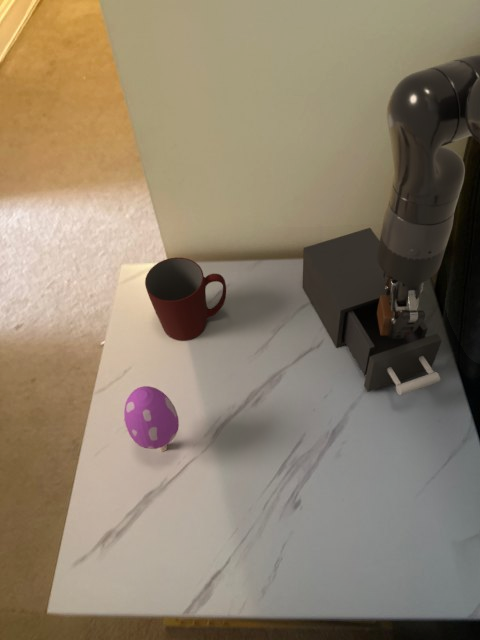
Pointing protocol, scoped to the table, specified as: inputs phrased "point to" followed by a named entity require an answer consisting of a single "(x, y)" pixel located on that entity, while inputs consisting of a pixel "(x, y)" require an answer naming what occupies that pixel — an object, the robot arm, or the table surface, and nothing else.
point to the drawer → (389, 352)
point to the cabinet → (342, 278)
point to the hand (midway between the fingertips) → (393, 322)
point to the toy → (150, 418)
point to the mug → (181, 297)
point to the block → (385, 314)
